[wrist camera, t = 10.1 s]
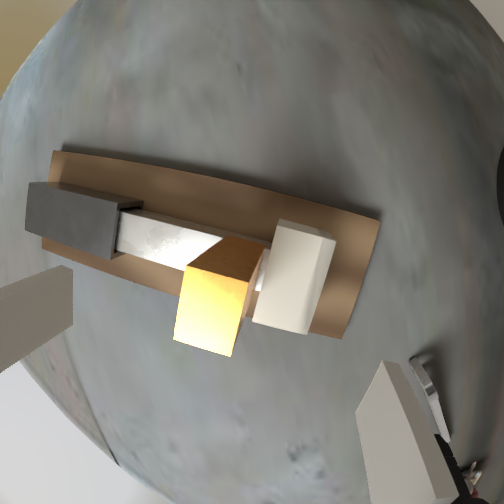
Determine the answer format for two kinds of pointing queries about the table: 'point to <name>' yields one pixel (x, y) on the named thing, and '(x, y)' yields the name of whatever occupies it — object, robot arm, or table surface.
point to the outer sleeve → (76, 216)
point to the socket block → (294, 276)
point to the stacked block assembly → (200, 272)
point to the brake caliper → (472, 479)
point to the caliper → (430, 396)
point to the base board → (221, 226)
